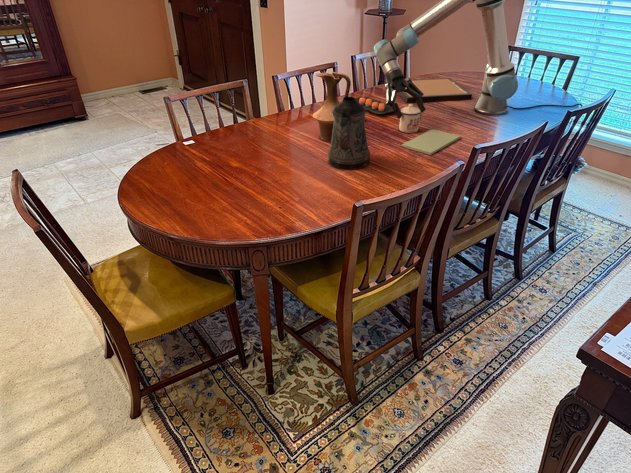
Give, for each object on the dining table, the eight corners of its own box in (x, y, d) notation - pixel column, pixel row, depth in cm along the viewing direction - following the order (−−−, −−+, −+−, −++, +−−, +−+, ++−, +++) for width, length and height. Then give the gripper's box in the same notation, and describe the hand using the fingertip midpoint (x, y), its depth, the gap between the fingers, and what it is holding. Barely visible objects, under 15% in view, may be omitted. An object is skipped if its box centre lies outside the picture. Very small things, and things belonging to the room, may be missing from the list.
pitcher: (356, 132, 198) (358, 68, 182) (346, 146, 184) (347, 78, 169) (320, 129, 203) (318, 66, 187) (307, 142, 189) (305, 76, 174)
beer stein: (362, 151, 180) (364, 89, 166) (377, 170, 164) (381, 104, 150) (323, 155, 177) (322, 93, 163) (335, 175, 161) (335, 109, 147)
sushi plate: (401, 112, 220) (402, 104, 218) (355, 125, 206) (355, 117, 204) (364, 99, 240) (364, 92, 238) (320, 110, 226) (320, 102, 224)
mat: (432, 131, 197) (432, 128, 196) (460, 138, 189) (460, 136, 188) (401, 146, 183) (401, 144, 182) (430, 155, 175) (430, 152, 174)
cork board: (391, 85, 261) (406, 103, 232) (392, 80, 260) (407, 97, 230) (449, 82, 263) (471, 99, 234) (449, 77, 262) (472, 94, 232)
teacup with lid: (407, 134, 194) (410, 109, 187) (394, 129, 200) (396, 103, 194) (427, 129, 199) (430, 103, 192) (414, 123, 205) (416, 99, 199)
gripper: (409, 73, 207) (428, 113, 204) (367, 82, 196) (386, 123, 194) (418, 64, 200) (437, 104, 197) (375, 72, 190) (394, 115, 187)
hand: (412, 114), depth 196 cm, fingers open, 13 cm apart
